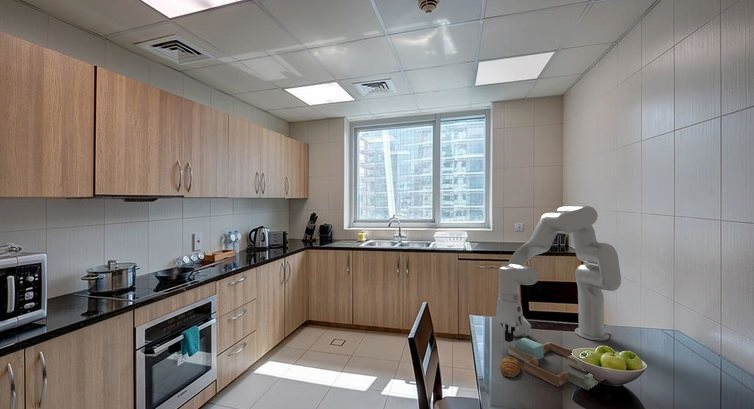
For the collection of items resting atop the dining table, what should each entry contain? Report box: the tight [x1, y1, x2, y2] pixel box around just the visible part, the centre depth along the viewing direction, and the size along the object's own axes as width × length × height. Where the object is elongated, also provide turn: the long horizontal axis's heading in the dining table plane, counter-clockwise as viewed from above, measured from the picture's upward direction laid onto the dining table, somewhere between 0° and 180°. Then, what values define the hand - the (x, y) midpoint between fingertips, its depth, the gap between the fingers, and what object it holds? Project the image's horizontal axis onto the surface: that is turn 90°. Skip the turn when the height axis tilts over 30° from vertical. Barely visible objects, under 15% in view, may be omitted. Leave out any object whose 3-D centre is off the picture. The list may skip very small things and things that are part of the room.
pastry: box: [499, 356, 522, 378], centre depth 110 cm, size 9×7×4 cm
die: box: [513, 315, 532, 338], centre depth 141 cm, size 8×9×10 cm
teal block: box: [514, 337, 545, 361], centre depth 122 cm, size 6×8×5 cm
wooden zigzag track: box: [507, 341, 599, 391], centre depth 114 cm, size 24×29×4 cm
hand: (509, 340), depth 130 cm, fingers closed
